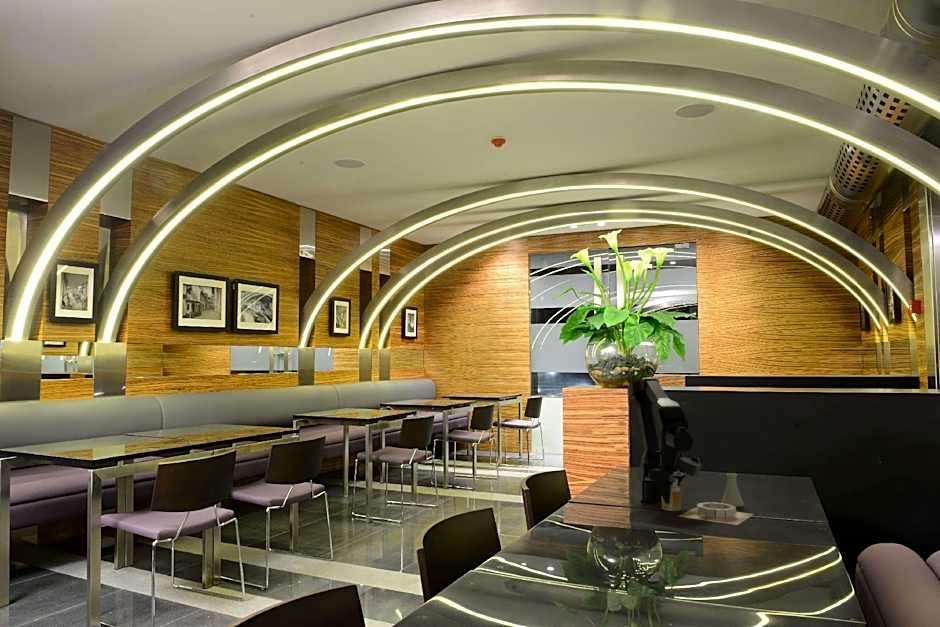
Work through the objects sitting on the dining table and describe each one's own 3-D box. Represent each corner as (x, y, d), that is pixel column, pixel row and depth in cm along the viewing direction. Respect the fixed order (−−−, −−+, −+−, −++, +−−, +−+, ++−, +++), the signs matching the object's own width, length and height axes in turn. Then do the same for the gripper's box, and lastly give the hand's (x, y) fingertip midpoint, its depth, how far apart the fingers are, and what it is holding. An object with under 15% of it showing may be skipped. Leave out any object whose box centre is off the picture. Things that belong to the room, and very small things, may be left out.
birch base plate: (677, 519, 185) (677, 516, 185) (697, 509, 197) (697, 506, 197) (737, 528, 175) (737, 524, 175) (754, 517, 187) (754, 514, 188)
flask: (741, 505, 204) (740, 472, 205) (748, 510, 197) (747, 476, 198) (716, 504, 205) (716, 471, 206) (723, 510, 198) (722, 475, 198)
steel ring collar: (692, 515, 185) (692, 506, 185) (704, 509, 193) (704, 500, 193) (729, 521, 179) (728, 511, 179) (740, 514, 187) (739, 505, 187)
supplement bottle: (681, 511, 196) (680, 477, 196) (680, 515, 191) (679, 480, 191) (662, 509, 197) (661, 476, 198) (661, 513, 192) (660, 479, 193)
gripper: (685, 453, 183) (686, 511, 182) (708, 446, 198) (709, 500, 197) (647, 450, 190) (648, 505, 189) (671, 443, 205) (672, 495, 203)
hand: (671, 501), depth 194 cm, fingers closed on supplement bottle, 5 cm apart
